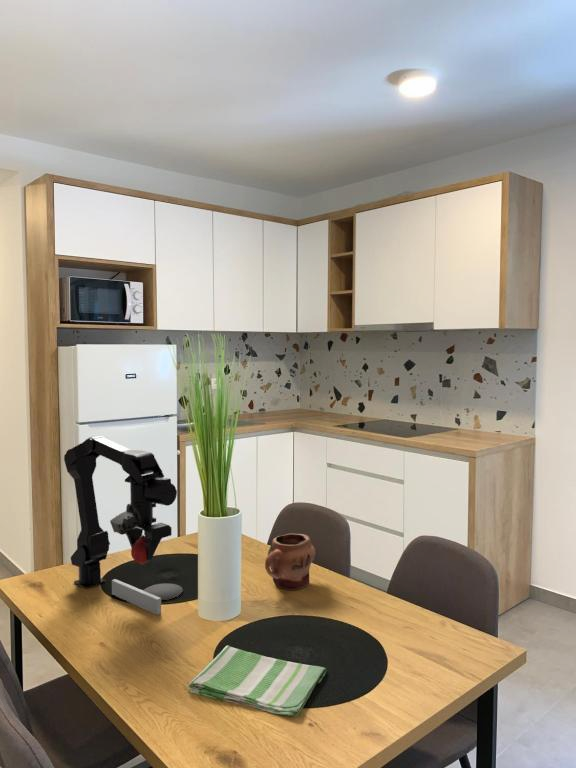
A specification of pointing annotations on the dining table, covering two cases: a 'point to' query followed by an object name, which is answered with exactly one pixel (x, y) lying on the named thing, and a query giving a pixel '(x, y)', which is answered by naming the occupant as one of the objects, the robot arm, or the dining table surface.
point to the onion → (139, 551)
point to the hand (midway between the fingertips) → (142, 557)
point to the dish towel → (257, 681)
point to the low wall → (136, 596)
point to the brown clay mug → (290, 560)
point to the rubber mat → (165, 590)
